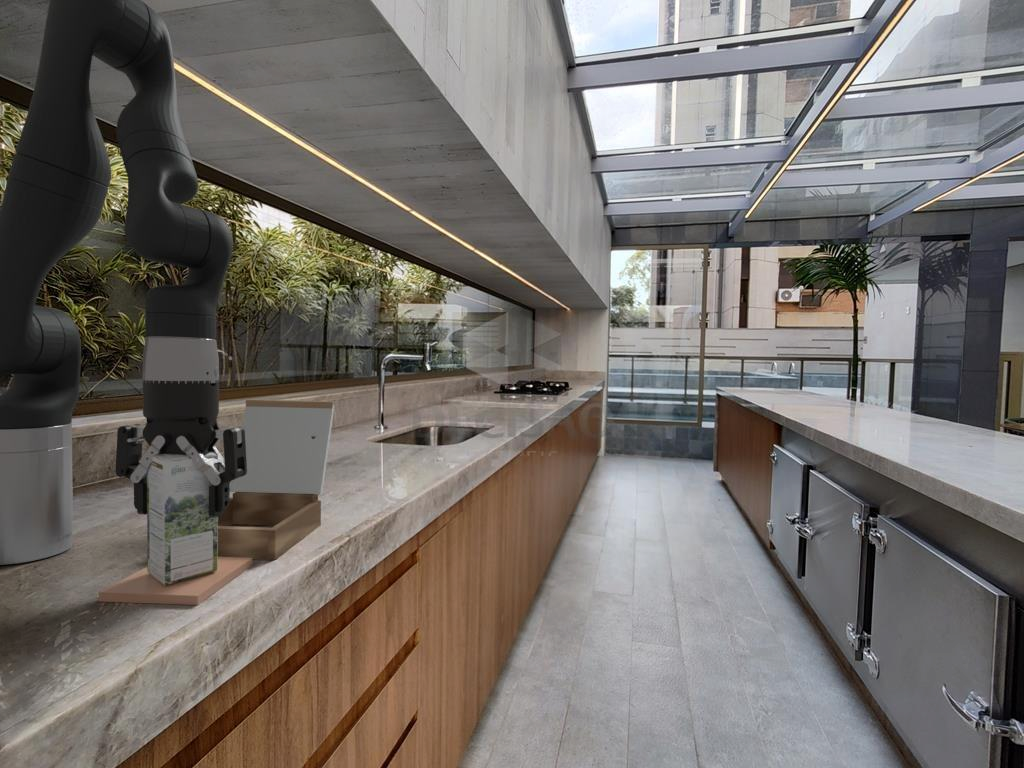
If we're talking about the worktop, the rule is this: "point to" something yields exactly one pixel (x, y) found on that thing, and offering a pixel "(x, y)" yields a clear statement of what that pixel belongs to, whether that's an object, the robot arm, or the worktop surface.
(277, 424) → the lid
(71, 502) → the robot arm
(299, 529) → the wooden box
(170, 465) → the syrup box
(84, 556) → the worktop surface
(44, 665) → the worktop surface
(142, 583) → the tile
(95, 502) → the worktop surface
